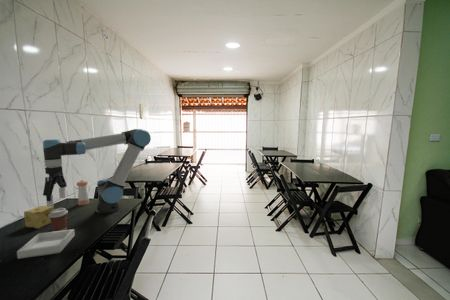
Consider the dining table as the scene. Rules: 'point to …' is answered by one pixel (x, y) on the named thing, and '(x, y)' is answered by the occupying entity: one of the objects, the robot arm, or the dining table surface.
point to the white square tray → (46, 243)
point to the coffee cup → (58, 219)
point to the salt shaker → (82, 193)
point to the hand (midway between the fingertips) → (56, 201)
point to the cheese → (38, 217)
